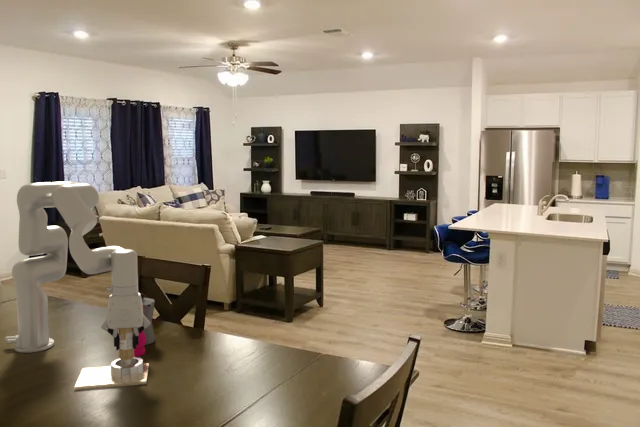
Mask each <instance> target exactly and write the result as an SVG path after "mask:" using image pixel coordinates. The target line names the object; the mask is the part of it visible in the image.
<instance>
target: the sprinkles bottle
mask: <svg viewBox="0 0 640 427" xmlns="http://www.w3.org/2000/svg"><path fill="white" fill-rule="evenodd" d="M118 333H119V350H118V352H119V356H118V359H121V360H129V359H132V358H134V346H133V336H134V330H133V328H123V329H118Z"/></svg>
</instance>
